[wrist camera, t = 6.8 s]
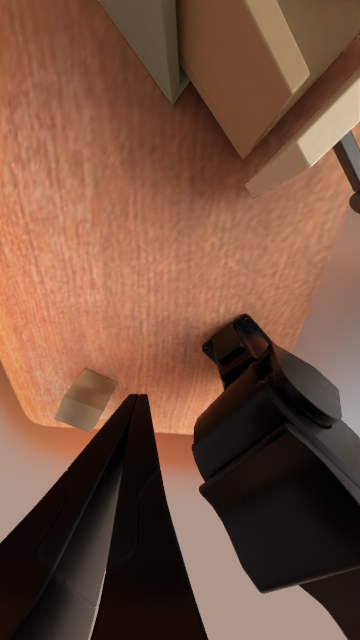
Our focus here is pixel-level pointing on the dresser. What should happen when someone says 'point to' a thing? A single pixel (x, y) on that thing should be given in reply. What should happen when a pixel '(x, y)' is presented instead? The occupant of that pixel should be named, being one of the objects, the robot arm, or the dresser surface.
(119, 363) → the dresser surface
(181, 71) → the cabinet
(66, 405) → the block
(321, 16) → the drawer
